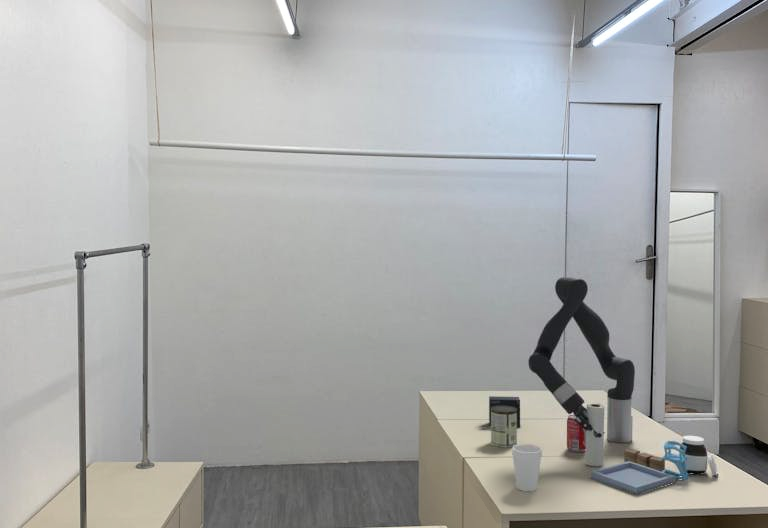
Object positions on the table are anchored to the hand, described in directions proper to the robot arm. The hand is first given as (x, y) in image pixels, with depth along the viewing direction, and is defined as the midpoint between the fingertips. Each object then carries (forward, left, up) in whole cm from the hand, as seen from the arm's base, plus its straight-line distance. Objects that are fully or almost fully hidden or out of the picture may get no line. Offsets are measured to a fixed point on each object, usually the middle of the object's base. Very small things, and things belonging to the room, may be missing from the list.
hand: (601, 436), depth 243 cm
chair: (-12, +21, -11) cm, 27 cm away
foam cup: (+39, +2, -11) cm, 40 cm away
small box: (-7, -58, -11) cm, 60 cm away
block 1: (-13, +3, -11) cm, 18 cm away
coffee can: (+12, -38, -11) cm, 41 cm away
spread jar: (-23, +23, -11) cm, 35 cm away
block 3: (-14, +13, -11) cm, 22 cm away
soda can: (-6, -17, -11) cm, 21 cm away
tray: (+4, +16, -11) cm, 20 cm away
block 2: (-14, +9, -11) cm, 19 cm away
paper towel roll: (+1, -2, -11) cm, 11 cm away
